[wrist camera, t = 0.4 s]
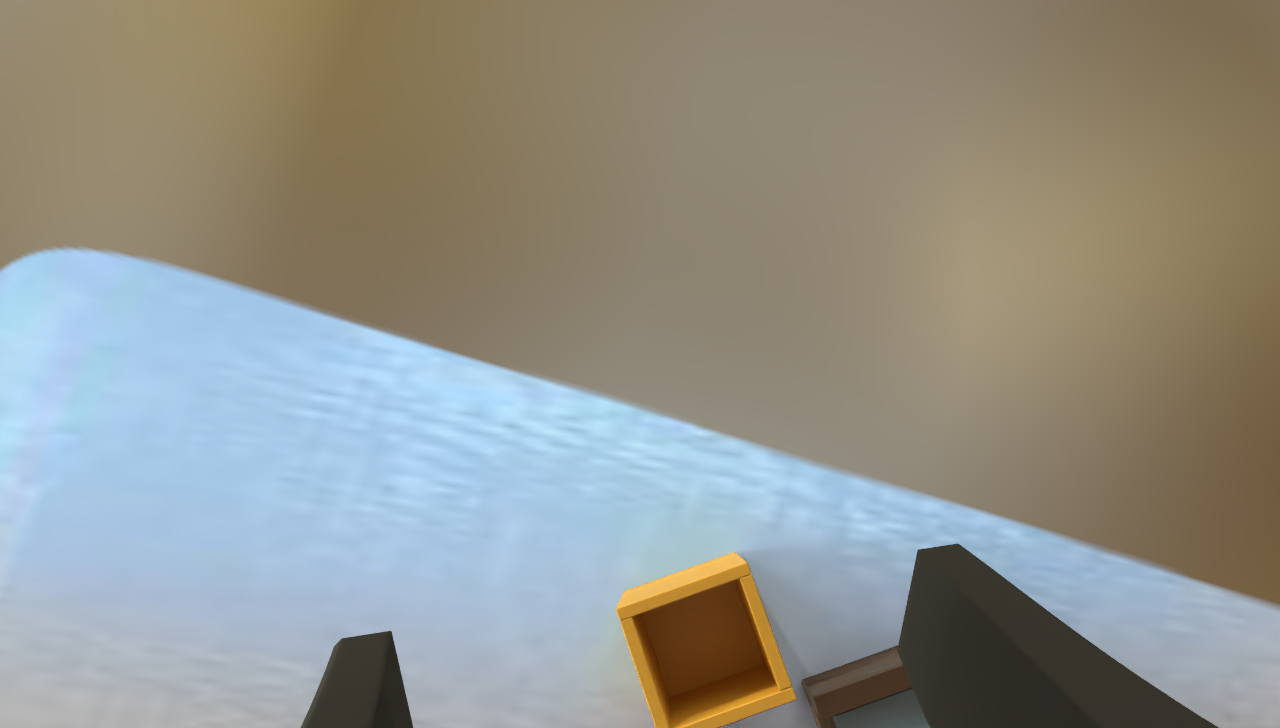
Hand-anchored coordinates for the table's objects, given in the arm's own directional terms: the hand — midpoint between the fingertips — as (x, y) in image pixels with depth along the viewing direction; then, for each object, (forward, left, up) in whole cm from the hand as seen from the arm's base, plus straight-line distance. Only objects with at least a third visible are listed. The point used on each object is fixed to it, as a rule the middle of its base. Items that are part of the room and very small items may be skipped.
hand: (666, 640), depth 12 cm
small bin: (-4, 0, -28) cm, 29 cm away
